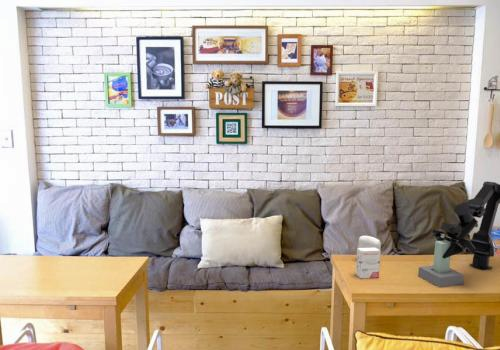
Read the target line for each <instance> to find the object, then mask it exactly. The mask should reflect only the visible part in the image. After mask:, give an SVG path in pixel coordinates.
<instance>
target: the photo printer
mask: <svg viewBox="0 0 500 350" xmlns="http://www.w3.org/2000/svg"><path fill="white" fill-rule="evenodd" d="M381 245H382V242H381V240H380V239H378V238H376V237H373V236H371V235H361V236H359V238H358V245H357V248H377V249H378V250H380V251H381V249H382V248H381V247H382V246H381Z"/></svg>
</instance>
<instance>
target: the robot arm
mask: <svg viewBox="0 0 500 350" xmlns="http://www.w3.org/2000/svg"><path fill="white" fill-rule="evenodd" d="M499 205H500V184H499V183H498V182H494V181H484V182H483V184H482V187H481V188H480V189H479V191H478V192H477V193H476V195H475V196H474V197H473V198H471V199H468V200H467V201H462V203H460V204H459V203H458V204H457V205H456V206H455V207H453V208H454V209H453V211H454V213H455V216H456V218H457V220H458V222H457V223H453V224H450V223H448V222H444V221H442V222H441V225H440V227H439V229H437V228H434V229H433V230H432V231H431V234H432V235H433V237H434V238H435V239H436V241H444V240H446V241H448V242H451V245H450V247H449V248H448V250H447V251H446V252H445V253H444V255H443V258H444V259H445V258H447V257H450V256H451V257H452V256H455V255H458V254H461V253H462V254H463V253H464V252H465V253H467V254H470V255H473V257H472V263H469V266H471V267H473V268H477V269H479V270H490V269H492V268H493V267H492V266H490V258H491V257H492V258H493V257H494V256H495V251H496V249H495V247H494V245H493V238H492V236H491V234H492V230H493V226H494V222H495V218H496V216H497V211H498V207H499ZM476 218H479V219H481V218H482V219H481V221H480V225H479V221H478V220H477V219H476ZM478 227H479V229H478V230H477V232H474V233H473V234H472V238H471V239H470V240H468V239H469V238H470V237H471V235H470V233H471V232H472V231H473V229H475V228H478ZM444 231H445V233H444ZM466 238H468V239H466ZM464 250H465V251H464ZM451 257H450V258H451Z"/></svg>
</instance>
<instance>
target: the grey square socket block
mask: <svg viewBox="0 0 500 350" xmlns="http://www.w3.org/2000/svg"><path fill="white" fill-rule="evenodd" d="M417 276H418V277H419V278H421V279H423V280H425V281H427V282H429V283H430V284H432V285H434V286H436V287H437V288H444V287H452V286H461V285H464V280H465V274H464V273H461V272H460V271H457V270H455V269H453V268H451V267H450V268H449V273H441V274H439V273H437V272H435V271H433V264H431V265H424V266H418V273H417Z"/></svg>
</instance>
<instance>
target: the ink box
mask: <svg viewBox="0 0 500 350" xmlns="http://www.w3.org/2000/svg"><path fill="white" fill-rule="evenodd" d="M355 260H356V261H355V263H356V265H355V275H356V277H358V278H359V279H370V278H371V279H372V278H373V279H374V278H375V279H376V277H378V278H379V277H380V265H381V264H380V263H381V249H380V250H378V249H377V248H358V247H357V248H356V259H355Z"/></svg>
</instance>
